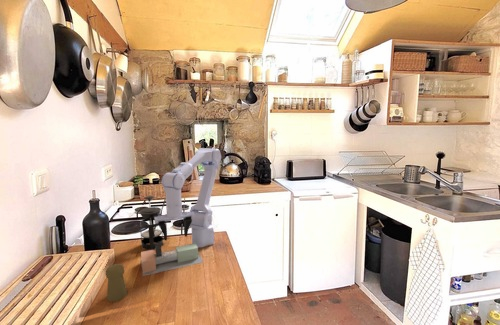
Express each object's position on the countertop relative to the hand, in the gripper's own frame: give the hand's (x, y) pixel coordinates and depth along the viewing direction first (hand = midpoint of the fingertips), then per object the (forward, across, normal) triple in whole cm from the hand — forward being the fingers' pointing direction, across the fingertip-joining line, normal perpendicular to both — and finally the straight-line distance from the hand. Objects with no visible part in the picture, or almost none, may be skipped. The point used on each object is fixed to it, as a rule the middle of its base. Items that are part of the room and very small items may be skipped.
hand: (175, 237), depth 105 cm
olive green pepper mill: (+11, -21, -14) cm, 27 cm away
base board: (+10, -2, 0) cm, 11 cm away
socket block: (+9, -10, 0) cm, 14 cm away
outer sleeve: (+9, +4, 0) cm, 10 cm away
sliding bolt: (+9, -4, 0) cm, 10 cm away
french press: (+11, -7, +18) cm, 22 cm away
